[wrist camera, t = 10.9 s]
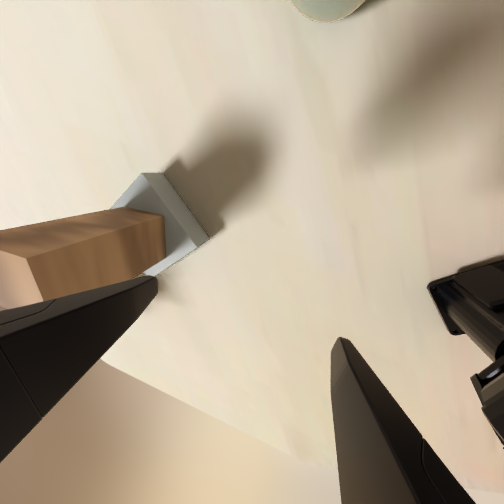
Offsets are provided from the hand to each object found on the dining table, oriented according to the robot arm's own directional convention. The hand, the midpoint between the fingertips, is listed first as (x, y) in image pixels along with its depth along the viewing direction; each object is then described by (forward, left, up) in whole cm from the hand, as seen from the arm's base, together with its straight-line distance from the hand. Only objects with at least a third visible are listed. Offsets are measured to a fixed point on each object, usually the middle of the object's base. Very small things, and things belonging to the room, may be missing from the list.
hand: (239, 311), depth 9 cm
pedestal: (+8, +12, -13) cm, 19 cm away
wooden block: (+8, +12, -10) cm, 18 cm away
